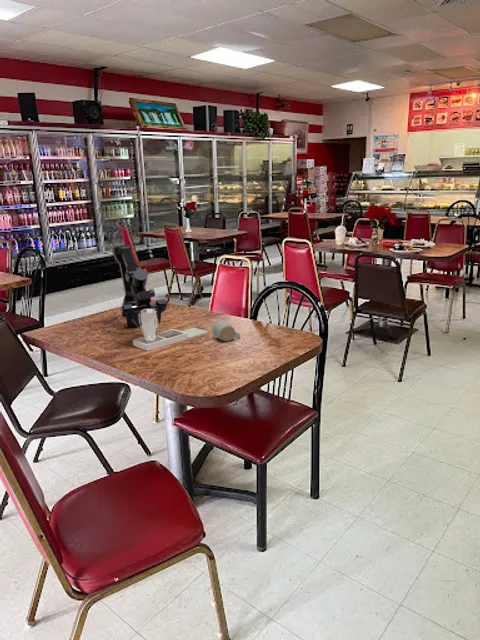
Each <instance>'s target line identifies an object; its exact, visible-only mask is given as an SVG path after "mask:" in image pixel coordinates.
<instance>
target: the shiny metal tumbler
mask: <svg viewBox="0 0 480 640" xmlns="http://www.w3.org/2000/svg"><path fill="white" fill-rule="evenodd" d="M156 312H157V311H156V308H155V309H151V308H150V309H143V310H140V313H139V323H140V324H141V326H140V327H141V331H142V335H143V337H144V343H145V344H150V343H154V342H157V341H158V340H157V333H158V318H157V314H156Z"/></svg>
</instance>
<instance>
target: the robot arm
mask: <svg viewBox="0 0 480 640" xmlns="http://www.w3.org/2000/svg"><path fill="white" fill-rule="evenodd" d="M132 248H133V247H132V246H131V245H129V244H124V245H122V244H121V245H117V246H116V245H115V246H114V247H113V248H112V250H111V251H112V252H111V253H112V257H114V261H115V262H116V263H117V264H118V266H119V269H120V274H121V279H122V285H123V290H124V297H123V300H122V305H121V309H120V313H121V317H122V318H125V320H126V325H125V326H123V327H124V328H126V329H137V328H139V327H141V324H140V310H143V309H150V308H151V309H156V314H157V323H159V325H160V324H161V320H162V318H161V317H162V314H163V313H164V312H165V311H167V310H166V309H167V308H168V307H167V305H168V302H167V300H166V299H163V298H162V299H156V300H155V303H152V298H155V297H156V292H155V289H154V288H149V289H148V290H147V289H146V285H147V281H148V278H149V277H148V276H149V274H148V272H147V271H146V270H144V269H142V267H141V266H140V265H138V264H137V263H136V260H135V258H134V255H133V249H132Z"/></svg>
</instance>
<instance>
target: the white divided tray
mask: <svg viewBox="0 0 480 640" xmlns="http://www.w3.org/2000/svg"><path fill="white" fill-rule="evenodd" d="M209 333H210V332H209V330H208V331H207V330H204V329H200V328H197V327H191V328H188V329H184V330H181V331H180V330H177V329H174V328H171V329H168V330H164V331H160V332H157V340H158V341H157V342H154V343H150V344H145V343H144V336H143V337H139V338H135V339H133V340H132V344H133V345H134V347H135V346H136V348H138V349H140V348H141V350H143V351H145V350H146V351H145V352H149V350H150V351H154V350H155V349H159V348H162V347H165V346H169V345H173V344H175V343H180V342H182V341H186V340H188V339H193V338H196V337H199V336H204V335H205V334H209Z"/></svg>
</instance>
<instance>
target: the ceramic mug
mask: <svg viewBox="0 0 480 640" xmlns="http://www.w3.org/2000/svg"><path fill="white" fill-rule="evenodd" d="M212 332H213V334H214V336H215V337H217V338H218V339H220V340H221V341H222V342H230V341H232V340H234V338H236V339H239V338H240V336H241V334H240V333H238V332H237V331H235V328H234V327H233V326H232V325H231V324H230V323H229V322H227V320H223V319H221V320H218V321H216V322H215V323H214V325H213V326H212Z"/></svg>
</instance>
